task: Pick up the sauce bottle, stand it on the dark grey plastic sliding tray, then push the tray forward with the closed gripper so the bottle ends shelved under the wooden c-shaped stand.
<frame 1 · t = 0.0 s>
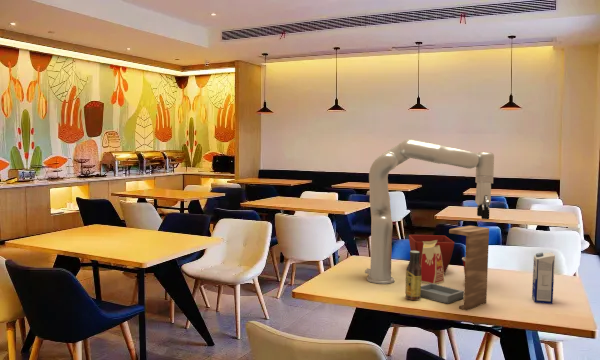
hand: (482, 217, 234), 31 cm above the table, tool pointing down, fingers open, 9 cm apart
wooden c-shaped stand: (466, 303, 209), on the table
sauce bottle: (412, 299, 215), on the table
plastic cup: (473, 285, 237), on the table
plant pot: (429, 271, 262), on the table
milk carton 2: (542, 301, 214), on the table
tray: (438, 292, 217), point 2 cm above the table, slide at 0.0 cm
milk carton: (430, 282, 242), on the table
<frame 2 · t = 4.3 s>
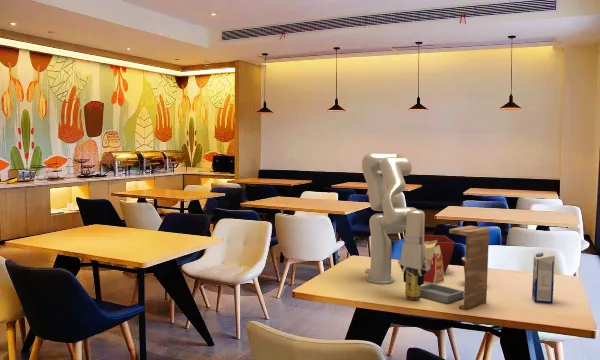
hand: (413, 282, 214), 7 cm above the table, tool pointing down, fingers closed on sauce bottle, 6 cm apart
sauce bottle: (412, 299, 215), on the table, touching gripper
everything else where it was.
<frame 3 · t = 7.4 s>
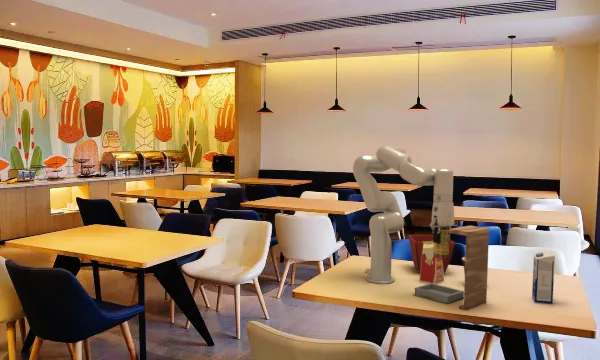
hand: (441, 241, 215), 24 cm above the table, tool pointing down, fingers closed on sauce bottle, 6 cm apart
sauce bottle: (441, 258, 215), point 17 cm above the table, touching gripper
everything else where it was.
when the fingers open (9 cm above the table, at t = 10.7 s): sauce bottle drops 2 cm, resting on tray.
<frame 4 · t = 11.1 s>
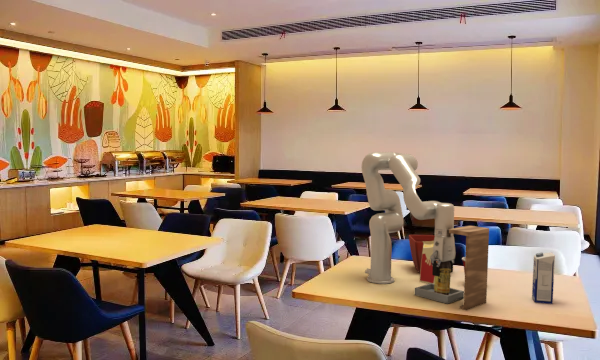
hand: (442, 273, 216), 10 cm above the table, tool pointing down, fingers open, 9 cm apart
sauce bottle: (441, 295, 217), point 1 cm above the table, touching tray
tray: (438, 292, 217), point 2 cm above the table, slide at 0.0 cm, touching sauce bottle
everything else where it was.
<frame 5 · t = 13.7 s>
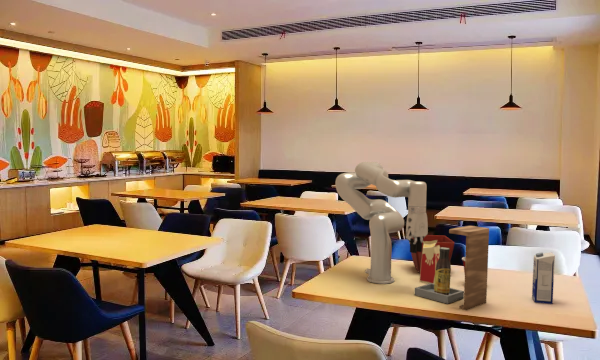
hand: (415, 251, 226), 17 cm above the table, tool pointing down, fingers open, 3 cm apart
nothing on the table moved.
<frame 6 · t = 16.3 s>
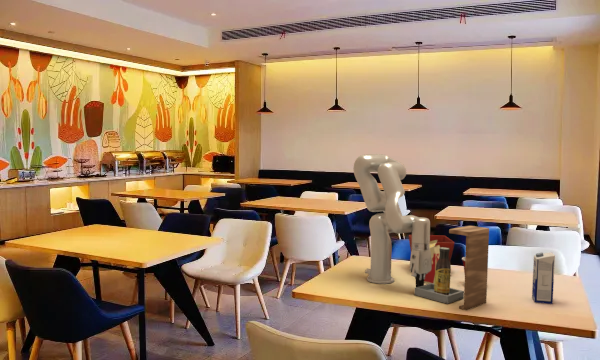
hand: (419, 288, 225), 2 cm above the table, tool pointing down, fingers closed
tray: (438, 292, 217), point 2 cm above the table, slide at 0.0 cm, touching gripper, sauce bottle
everything else where it was.
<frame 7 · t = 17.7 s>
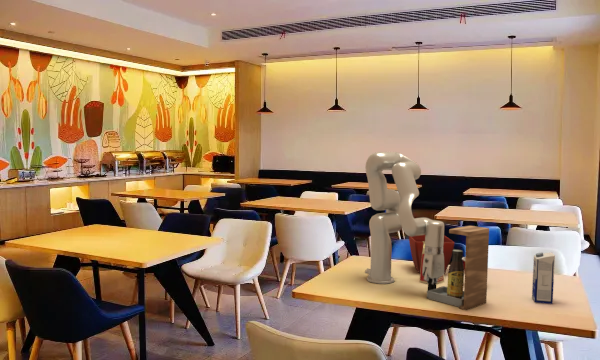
hand: (431, 292, 220), 1 cm above the table, tool pointing down, fingers closed
sauce bottle: (454, 299, 212), point 1 cm above the table, touching tray
tray: (451, 296, 213), point 2 cm above the table, slide at 6.1 cm, touching wooden c-shaped stand, gripper, sauce bottle
everything else where it was.
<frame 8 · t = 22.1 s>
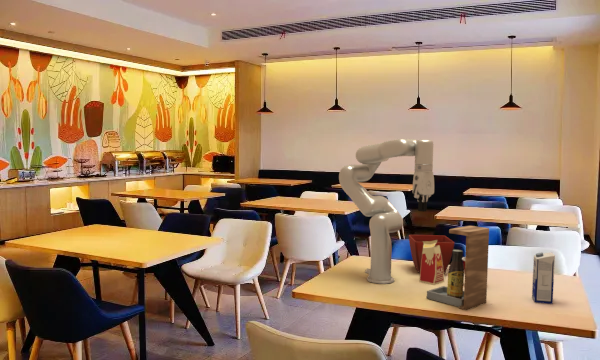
hand: (422, 210, 224), 35 cm above the table, tool pointing down, fingers closed
tray: (451, 296, 213), point 2 cm above the table, slide at 6.1 cm, touching wooden c-shaped stand, sauce bottle
everything else where it was.
at the end: tray slide at 6.1 cm; sauce bottle inside the target area on the tray (0.4 cm from its centre), point 0.8 cm above the tray's base; sauce bottle tilted 0° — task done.
